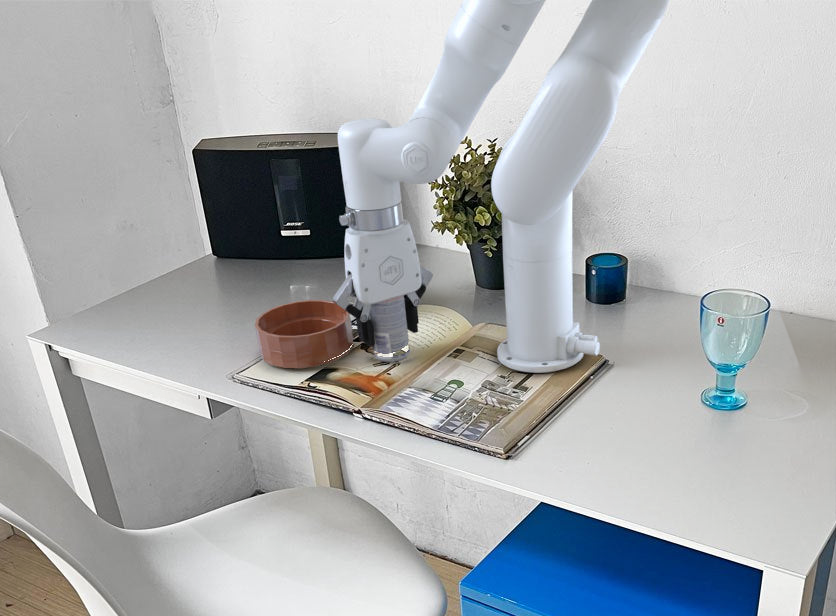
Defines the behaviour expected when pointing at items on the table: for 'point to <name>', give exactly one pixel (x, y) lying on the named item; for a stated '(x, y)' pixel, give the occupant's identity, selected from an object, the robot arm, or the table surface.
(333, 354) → the bowl
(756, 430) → the table surface
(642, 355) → the table surface
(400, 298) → the energy drink
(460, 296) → the table surface
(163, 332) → the table surface
